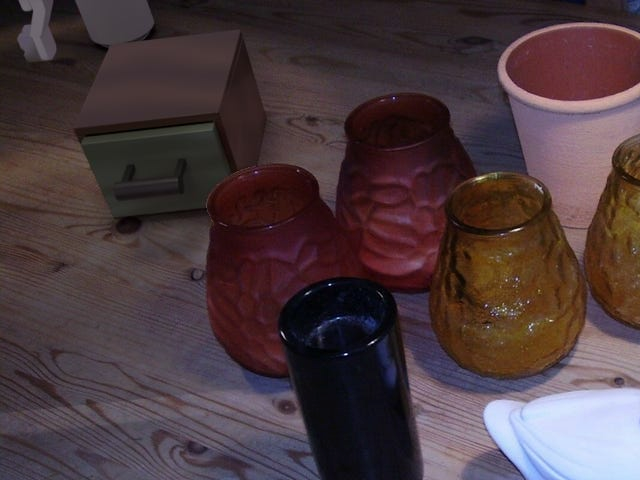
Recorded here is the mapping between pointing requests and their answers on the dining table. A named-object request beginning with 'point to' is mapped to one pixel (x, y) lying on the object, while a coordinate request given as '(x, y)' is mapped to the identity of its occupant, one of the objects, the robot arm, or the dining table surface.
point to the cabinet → (179, 92)
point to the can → (116, 20)
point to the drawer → (157, 167)
